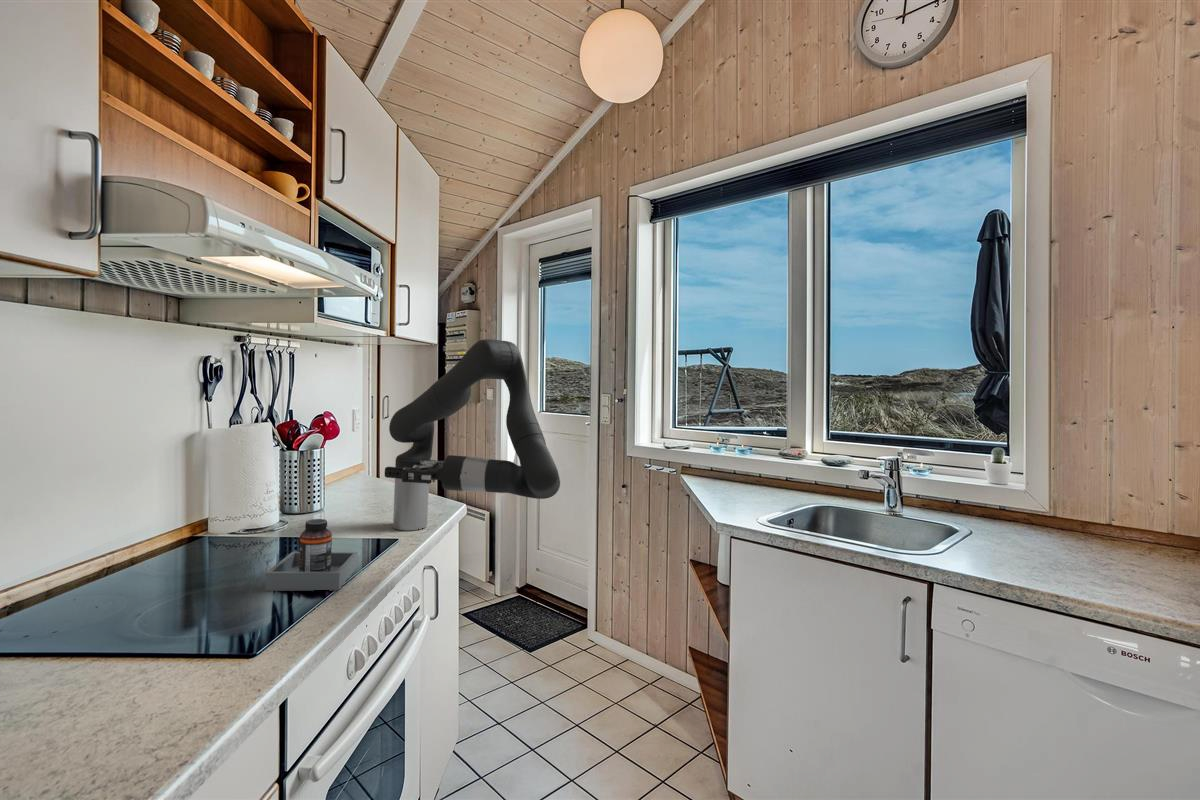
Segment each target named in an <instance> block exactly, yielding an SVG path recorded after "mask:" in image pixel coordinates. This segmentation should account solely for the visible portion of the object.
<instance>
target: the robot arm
mask: <svg viewBox="0 0 1200 800" xmlns="http://www.w3.org/2000/svg"><path fill="white" fill-rule="evenodd" d="M488 379H489V380H503V382H504V383H505V385H506V387H507V390H508V392H509V401H508V407H507V411H506V412H507V413H506V417H505V419H506V421H505V423H506V430H507V433H508V435H509V439H510V442H511V444H512V447H513V450H514V451H515V452H514V453H515V454H516V455H517V457H518V460H519V463H520V465H517V464H516V463H515V462H513V461H510V460H504V459H493V458H492V459H490V458H484V457H478V456H467V455H466V456H465V455H453V454H452V455H451V454H449V455H447V456H446V457H445V459H444V460H435V459H434V460H433V459H431V458H432V456H433V448H434V447H433V445H434V435H435V422H436V421H439V420H442V419H445V418H448V417H450V416H452V415H454V414H455V413H457V412H459V411H460V410H461V409H462V408H463V407H465V406H466V405H467V404H468V403H469V401H470V399H471V395H472V386H473V385H475V384H477V382H480V381H481V380H488ZM388 431H389V434H390V436H391V438H392V439H393V440H394V441H396V442H398V443H405V444H406V443H412V446H411V447H410V448H409V449H407V450H406V451H405V452H403V453H401V454H398V455H397V456H396V457H395V460H394V461H395V463H394V465H395V466H386V467H384V477H385V478H387V479H388V478H389V479H394V491H393V492H394V495H393V517H392V521H393V522H392V528H393V529H395V530H398V531H417V530H418V529H419V530H422V528H423V529H425V527H426V526H427V527H428V516H429V515H428V514H429V491H430V490H429V489H430V484H432V483H435V482H436V481H440V482H441V486H442V487H441V488H443V490H445V491H454V492H468V493H482V492H484V493H496V494H497V493H499V494H512V495H515V496H520V497H524V498H529V499H536V500H544V499H549V498H552V497H554V496H555V495H556V494H557V493H558V491H559V490H560V487H561V479H560V474H559V470H558V468H557V466H556V463H555V461H554V459H553V457H552V455H551V452H550V451H549V448H548V447H547V443H546V438H545V436H544V434H543V431H542V429H541V426H540V424H539V421H538V419H537V415H536V413H535V411H534V407H533V403H532V398H531V394H530V390H529V384H528V378H527V374H526V371H525V365H524V362H523V358H522V355H521V352H520V349H519V348H518V346H517V345H516V344H515V343H513V342H512V341H508V340H500V339H489V338H485V339H480V340H477V341H476V342H475V343H474V344H473V345H472V346H471V347H470V348H469V349H468V350H467V351H466V352H465V354H464V355H463V356H462V357H461V359H460V360H459V361H458V362H457V363H456V364H455V365H454V366H453V367H452V368H450V369H449V370H448V371H447V372H446V373H445V374H444V375H443V376H441V377H439V379H437V380H436V381H435V382H433V384H432V385H431V386H430V387H428V388H427V389H426V390H425V391H424V392H423V393H421V394H420V395H419V396H418V397H416V398H415V399H414V400H413V401H411V402H410V403H408V404H406V405H405V406H403V407H402V408H400V409H398V410H397V411H396V412H395V413H394V414H393V416H391V419H390V421H389V429H388ZM427 527H426V528H427Z"/></svg>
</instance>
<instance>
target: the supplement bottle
mask: <svg viewBox="0 0 1200 800" xmlns="http://www.w3.org/2000/svg"><path fill="white" fill-rule="evenodd" d="M327 527H328V521H327V519H323V518H315V519H314V518H313V519H312V518H311V519H309V520H306V521H305V526H304V528H305V529H304V530H303V531H302V532H301V533H300V535H299V552H300V553H299V554H300V555H299V572H330V571H331V552H332V543H333V542H332V541H333V540H332V539H333V535H332V531H331V530H330V529H328V528H327Z"/></svg>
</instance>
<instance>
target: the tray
mask: <svg viewBox="0 0 1200 800" xmlns="http://www.w3.org/2000/svg"><path fill="white" fill-rule="evenodd" d="M299 553H300V551H291V552H290V553H289V554H287V556H285V557H284V558H282V560H280V561H278V562H277V563H276V564H275V565H274V566H272V567H271V568H270V569H269V570H268V571H266V572H265V576H264V577H265V578H264V581H265V582H264V591H265V592H269V591H270V592H274V591H275V592H278V591H279V592H281V591H282V592H284V591H287V592H288V591H289V592H290V591H291V592H294V591H296V592H297V591H299V592H301V591H303V592H304V591H305V592H307V591H311V592H312V591H313V592H314V590H329V591H340V590H341V588H342V587H343V586H344V585H345V584H344V583H346V582H347V581H348V580H349V579H350V577H351V576H352V575H353V574H354V573H355V571H356V570H357V569H358V565H359V564H358V562H359V561H358V560H359V552H358V551H331V571H330V572H299V555H300V554H299ZM356 568H357V569H356ZM355 569H356V570H355ZM354 570H355V571H354ZM353 572H354V573H353ZM352 573H353V574H352ZM351 574H352V575H351ZM350 575H351V576H350ZM348 578H349V579H348ZM347 579H348V580H347ZM346 580H347V581H346ZM345 581H346V582H345ZM343 584H344V585H343ZM342 585H343V586H342ZM341 586H342V587H341ZM339 589H340V590H339Z"/></svg>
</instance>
